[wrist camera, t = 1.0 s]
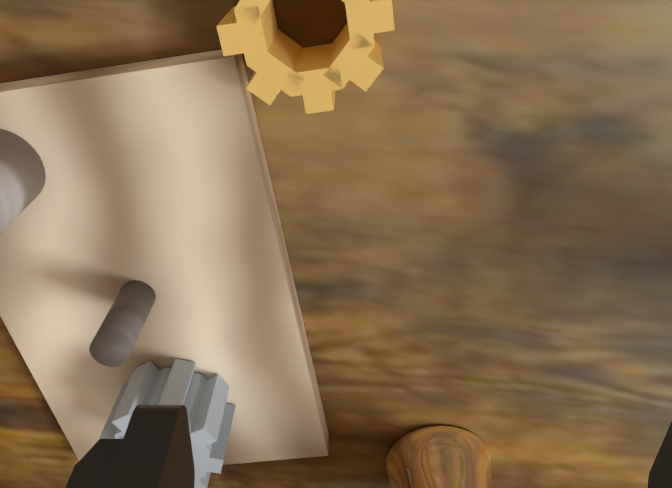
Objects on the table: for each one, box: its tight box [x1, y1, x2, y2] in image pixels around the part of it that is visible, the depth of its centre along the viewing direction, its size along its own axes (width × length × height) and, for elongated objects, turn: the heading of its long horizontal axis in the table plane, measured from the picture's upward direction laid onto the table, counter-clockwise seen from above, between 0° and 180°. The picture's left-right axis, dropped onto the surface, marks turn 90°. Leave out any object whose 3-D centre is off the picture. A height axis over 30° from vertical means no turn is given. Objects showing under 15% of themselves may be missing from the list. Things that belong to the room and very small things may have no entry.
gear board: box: [0, 49, 329, 465], centre depth 28 cm, size 14×22×6 cm, turn 9°
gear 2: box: [216, 0, 395, 114], centre depth 22 cm, size 6×6×4 cm
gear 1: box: [99, 358, 236, 488], centre depth 30 cm, size 6×6×4 cm
